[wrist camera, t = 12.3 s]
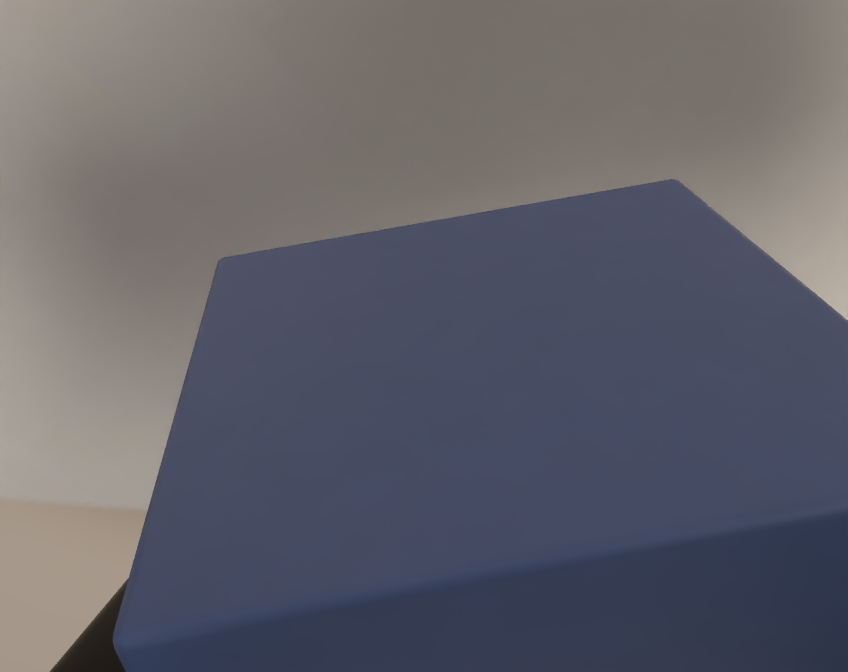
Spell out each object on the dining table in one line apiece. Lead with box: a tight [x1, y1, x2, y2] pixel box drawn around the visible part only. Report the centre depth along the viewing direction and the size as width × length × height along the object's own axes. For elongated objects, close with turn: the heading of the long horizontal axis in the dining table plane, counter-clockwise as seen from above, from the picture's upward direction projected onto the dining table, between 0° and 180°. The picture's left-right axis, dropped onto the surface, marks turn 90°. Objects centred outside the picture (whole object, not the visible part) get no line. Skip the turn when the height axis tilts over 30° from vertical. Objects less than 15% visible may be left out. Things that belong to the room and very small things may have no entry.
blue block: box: [113, 179, 848, 672], centre depth 7 cm, size 4×4×4 cm
